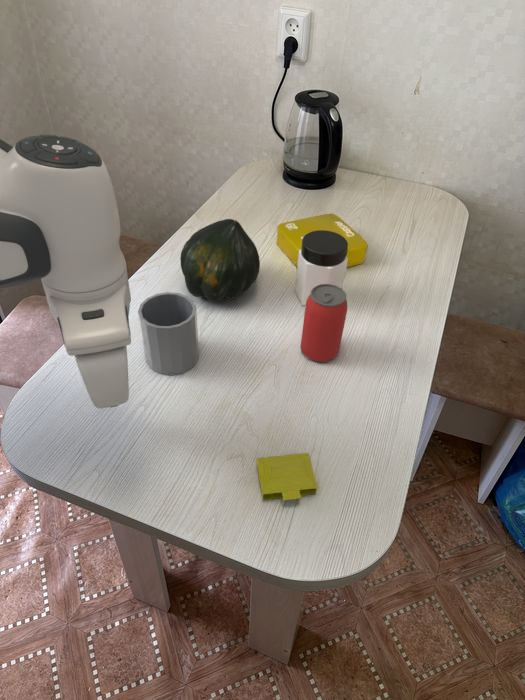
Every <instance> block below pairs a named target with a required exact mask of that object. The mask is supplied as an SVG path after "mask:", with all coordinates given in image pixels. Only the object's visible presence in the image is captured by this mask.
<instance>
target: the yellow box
mask: <svg viewBox="0 0 525 700" xmlns="http://www.w3.org/2000/svg"><path fill="white" fill-rule="evenodd" d="M318 230H326V231H332V232H335V233H338V234H340V235H341V236H343V237H344V238H345V239H346V240H347V242H348V251H347V255H346V257H347V259H348V262H347V267H346V269H347V268H350V267H354V266H359V265H361V264H363V263H364V262H365V260H366V255H367V251H368V247H369V243H368V241H367V240H366V239H365V238H364V237H362V236H361V235H360V234H359V233H358V231H356V230H354V229H353V228H352V227H351V226H350V225H348V223H347V222H345V221H344V220H343V219H342V218H341V217H339V216H338V215H337V214H335V213H325V214H321V215H314V216H310V217H306V218H305V217H304V218H300V219H296V220H290V221H286V222H282V223H280V224H278V226H277V230H276V246H277V247H279V249H280V250H281V251H282V252H283V253H284V254H285V255H286V257H288V259H289V260H290V262H292V263H293V264H294V266H295V267H297V264H298V255H299V250H300V249H301V247H302V239H303V237H304V236H305V235H306V234H307V233H310V232H312V231H318Z"/></svg>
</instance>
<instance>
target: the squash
mask: <svg viewBox="0 0 525 700" xmlns="http://www.w3.org/2000/svg"><path fill="white" fill-rule="evenodd" d="M179 259H180V268H181V272H182V274H183V276H184V282H185V287H186V288H187V291H188V292H189V293H190V294H191V295H192V297H195V298H206V299H207V300H208V301H209V302H219V301H221V300H223V298H224V297H225V298H226V299H236V298H237V297H239V296H240V295H241V294H243V293H245V292H246V291H248V290H249V289H250V288H251V287H252V286H253V284H254V283H255V282H256V281H257V279H258V277H259V274H260V268H261V261H260V255H259V251H258V249H257V246H256V244H255V243H254V241H253V239H252V238H251V237H250V236H249V235H248V233H247V232H246V230H245V229H244V228H243V226H242V224H241V223H240V222H239V221H238V220H236V219H232V218H224V219H221V220H218V221H215V222H213V223H210V224H209V225H206V226H204V227H201V228H199V229H198V230H197V231H196V232H194V233H193V234H192V235H191V236H190V238H189V239H188V240H187V241H186V242H185V244H184V245H183V247H182V249H181V252H180V257H179Z"/></svg>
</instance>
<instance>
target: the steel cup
mask: <svg viewBox="0 0 525 700" xmlns="http://www.w3.org/2000/svg"><path fill="white" fill-rule="evenodd" d="M137 314H138V320H139V328H140V333H141V338H142V344H143V351H144V356H145V361H146V365H147V366H148V367H149V368H150V370H152V371H154V372H155V373H157V374H159V375H164V376H176V375H181V374H184V373H186V372H188V371H190V370H191V369H193V368H194V367H195V366H196V365H197V363H198V360H199V357H200V354H199V353H200V347H199V346H200V345H199V333H198V332H199V330H198V313H197V306H196V304H195V302H194V300H193V299H192V298H190V297H189V296H188V295H185V294H182V293H179V292H170V291H166V292H160V293H156V294H153V295H150V296H149V297H146V298H145V300H143V301H142V302H141V303H140V304H139V308H138V309H137Z"/></svg>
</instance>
